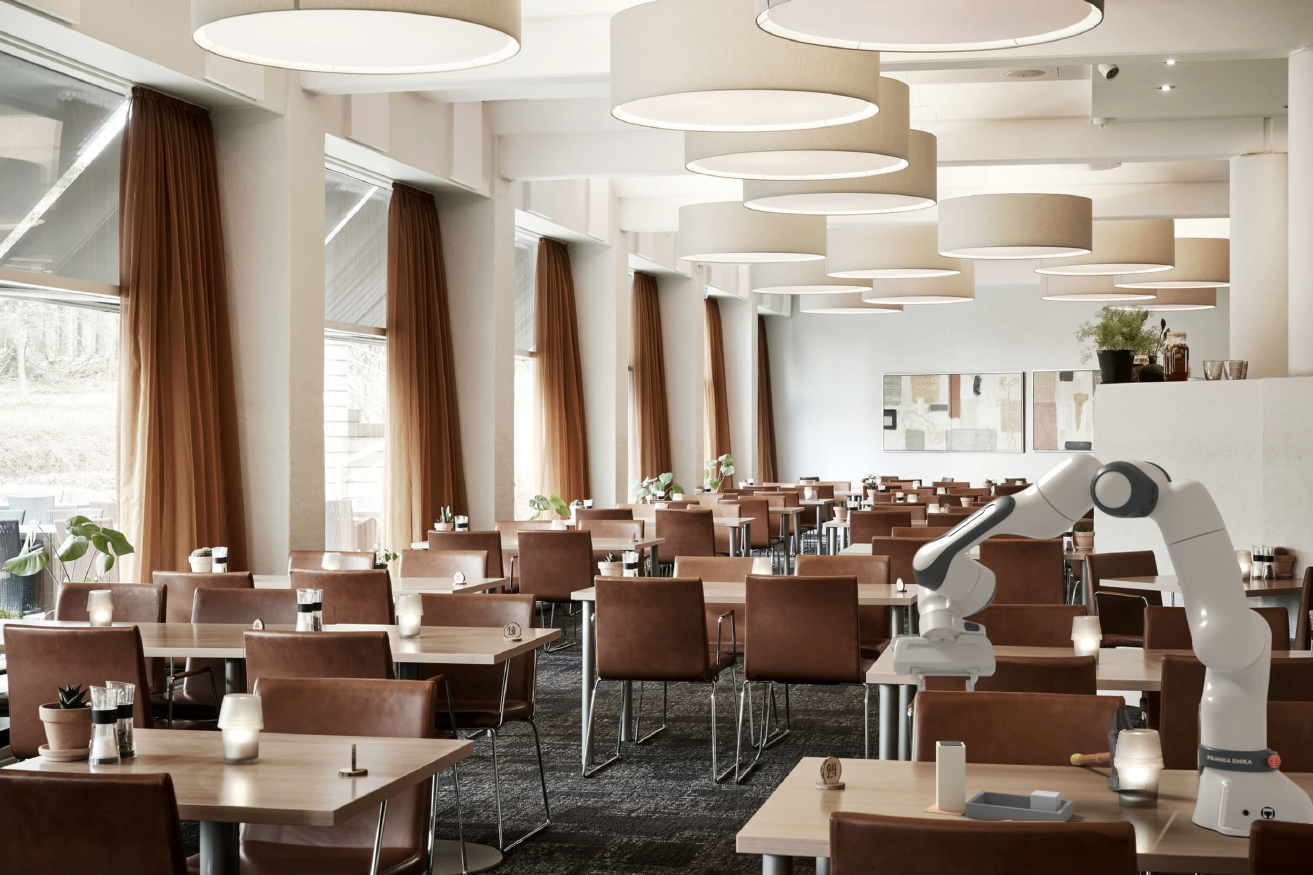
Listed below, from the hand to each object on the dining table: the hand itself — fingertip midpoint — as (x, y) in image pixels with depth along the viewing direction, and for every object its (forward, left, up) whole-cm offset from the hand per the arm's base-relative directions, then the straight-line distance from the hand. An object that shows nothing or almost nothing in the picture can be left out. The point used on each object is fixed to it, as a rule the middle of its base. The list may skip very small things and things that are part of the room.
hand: (945, 689), depth 277 cm
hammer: (-24, -33, -21) cm, 46 cm away
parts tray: (-17, +12, -21) cm, 29 cm away
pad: (-4, +12, -21) cm, 24 cm away
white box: (-4, +12, -20) cm, 24 cm away
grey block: (-22, +12, -20) cm, 32 cm away
